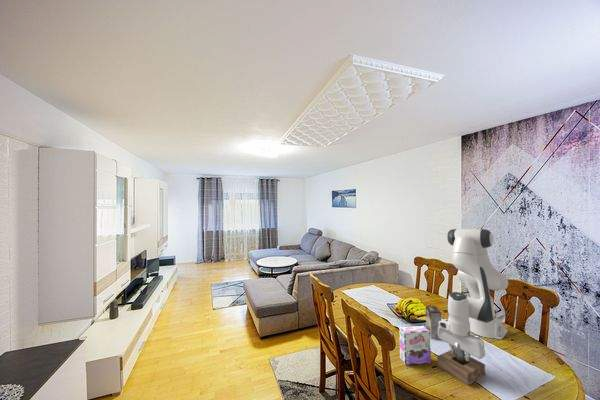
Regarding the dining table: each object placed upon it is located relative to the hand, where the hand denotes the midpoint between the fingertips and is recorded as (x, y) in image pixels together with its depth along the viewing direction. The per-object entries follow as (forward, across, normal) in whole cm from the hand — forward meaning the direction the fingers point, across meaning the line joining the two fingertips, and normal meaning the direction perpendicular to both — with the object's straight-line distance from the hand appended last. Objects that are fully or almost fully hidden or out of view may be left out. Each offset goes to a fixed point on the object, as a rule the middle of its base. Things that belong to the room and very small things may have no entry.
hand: (460, 356), depth 113 cm
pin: (+5, 0, 0) cm, 5 cm away
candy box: (+7, +15, +13) cm, 21 cm away
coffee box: (+7, +26, -18) cm, 32 cm away
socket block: (+7, 0, 0) cm, 7 cm away
